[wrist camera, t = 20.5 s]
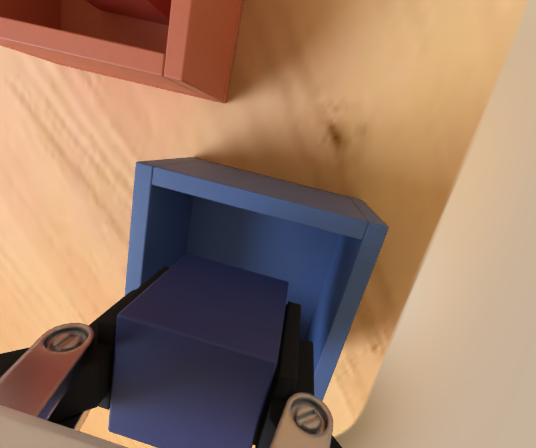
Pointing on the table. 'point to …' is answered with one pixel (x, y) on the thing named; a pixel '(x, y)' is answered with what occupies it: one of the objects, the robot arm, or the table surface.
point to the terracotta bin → (131, 42)
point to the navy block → (197, 356)
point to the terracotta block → (137, 9)
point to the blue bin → (260, 240)
